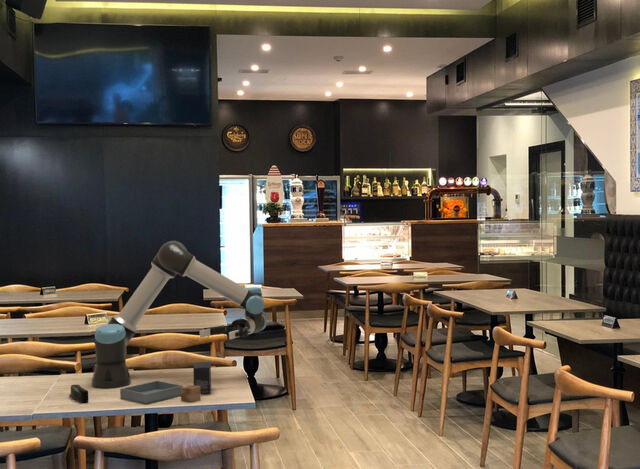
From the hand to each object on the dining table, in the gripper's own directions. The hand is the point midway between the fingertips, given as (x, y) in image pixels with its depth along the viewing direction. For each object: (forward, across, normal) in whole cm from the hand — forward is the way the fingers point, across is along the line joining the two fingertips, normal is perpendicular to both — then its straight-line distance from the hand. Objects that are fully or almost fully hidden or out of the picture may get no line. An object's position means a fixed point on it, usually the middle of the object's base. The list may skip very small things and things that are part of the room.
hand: (214, 335), depth 301 cm
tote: (+24, +13, -20) cm, 34 cm away
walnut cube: (+23, -4, -20) cm, 31 cm away
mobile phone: (+37, +37, -20) cm, 56 cm away
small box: (+10, 0, -20) cm, 23 cm away
